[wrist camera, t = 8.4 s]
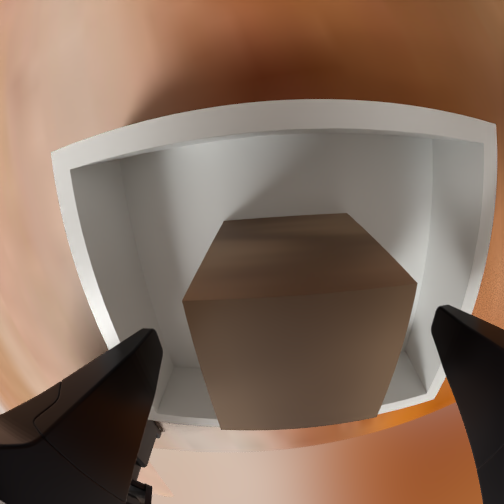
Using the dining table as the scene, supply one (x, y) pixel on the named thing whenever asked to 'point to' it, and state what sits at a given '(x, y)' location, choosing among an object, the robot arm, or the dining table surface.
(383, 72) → the dining table surface
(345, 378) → the walnut block
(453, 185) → the bin
